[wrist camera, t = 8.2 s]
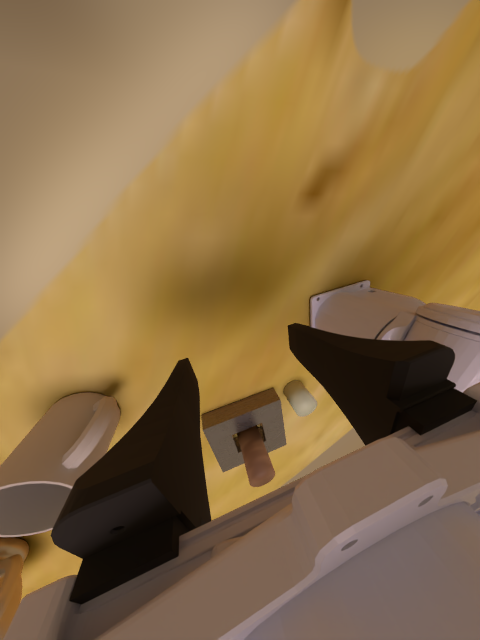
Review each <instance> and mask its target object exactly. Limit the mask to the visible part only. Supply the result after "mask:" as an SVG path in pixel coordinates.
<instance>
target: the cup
mask: <svg viewBox="0 0 480 640" xmlns="http://www.w3.org/2000/svg"><path fill="white" fill-rule="evenodd" d="M119 419H120V410H119V407H118V405H117V401H116V400H115V398H114V397H107V396H105V395H102V394H99V393H92V392H85V393H77V394H72V395H70V396H67V397H65V398H62V399H60V400H59V401H58V402H56V403H55V404H54V405H53V406H52V407H51V408H50V409H49V410H48V411H47V412H46V413H45V415H44V416H43V417H42V418H41V419H40V420H39V422H38V423H37V424H36V425H35V426H34V427H33V429H32V430H31V431H30V432H29V433H28V434H27V436H26V437H25V438H24V439H23V440H22V441H21V443H20V444H19V445H18V446H17V447H16V448H15V450H14V451H13V452H12V453H11V454H10V455H9V457H8V458H7V459H6V460H5V461H4V462H3V464H2V465H1V466H0V537H19V536H27V535H33V534H38V533H42V532H46V531H49V530H52V529H53V527H54V525H55V522H56V520H57V518H58V516H59V514H60V512H61V510H62V508H63V506H64V504H65V502H66V500H67V498H68V496H69V494H70V491H71V489H72V487H73V485H74V483H75V481H76V480H77V479H78V478H79V477H80V476H81V475H82V474H84V473H85V472H86V471H87V470H88V469H89V468H90V467H92V466H93V465H94V464H95V463H96V462H97V461H98V460H99V459H101V458H102V457H103V456H104V455H105V454H106V452H107V450H108V447H109V445H110V442H111V440H112V437H113V435H114V432H115V430H116V427H117V425H118V422H119Z"/></svg>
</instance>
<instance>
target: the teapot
mask: <svg viewBox="0 0 480 640" xmlns="http://www.w3.org/2000/svg"><path fill="white" fill-rule="evenodd" d="M28 552H29V546H28V544H27V542H25V541H24V540H22V539H19V538H14V537H0V640H3V638H4V636H5V634H6V632H7V630H8V628H9V626H10V624H11V622H12V619H13V617H14V615H15V613H16V611H17V609H18V607H19V605H20V601H21V595H22V578H21V573H22V569H23V562H24V561H25V559H26V557H27V555H28Z"/></svg>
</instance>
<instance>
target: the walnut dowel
mask: <svg viewBox="0 0 480 640" xmlns="http://www.w3.org/2000/svg"><path fill="white" fill-rule="evenodd" d="M237 435H238V439H239V443H240V447H241V451H242V455H243V459H244V463H245V467H246V471H247V475H248V478H249V482H250V485H251V486H253V487H259V486H262V485H265V484H267V483H268V482H270V481H271V480H272V479H273V478H274V476H275V471H274V468H273V466H272V463H271V461H270V458H269V455H268V453H267V450H266V447H265V445H264V442H263V439H262V437H261V434H260V432H259V429H258V426H257V425H255V426H253V427H250V428H248V429H246V430H243V431H241V432H238V433H237Z"/></svg>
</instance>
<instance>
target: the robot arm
mask: <svg viewBox="0 0 480 640" xmlns="http://www.w3.org/2000/svg"><path fill="white" fill-rule="evenodd" d="M360 285H361V286H360ZM317 298H318V299H317ZM310 320H311V327H309V326H306V325H302V324H298V323H294V324H291V325H288V334H289V346H290V350H291V351H292V353H293V354H294V356H295V357H296V358H297V360H298V361H299V362H300V363H301V364H302V365H303V366H304V367H305V368H306V369H307V370H308V371H309V372H310V373H311V374H312V375H313V376H314V377H315V378H316V379H317V380H318V381H319V383H320V384H321V385H322V386H323V387H324V388H325V390H326V391H327V392H328V393H329V395H330V396H331V397H332V399H333V400H334V401H335V402H336V404H337V405H338V407H339V408H340V409H341V411H342V412H343V413H344V415H345V416H346V418H347V419H348V420H349V422H350V423H351V425H352V426H353V428H354V429H355V430H356V432H357V433H358V435H359V436H360V438H361V439H362V441H363V442H364V444H365V446H364V447H362V448H360V449H358V450H356V451H353V452H351V453H349V454H347V455H345V456H343V457H341V458H339V459H337V460H335V461H333V462H331V463H329V464H327V465H324V466H322V467H320V468H318V469H317V470H315V471H313V472H312V473H310V474H308V475H306V476H304V477H302V478H300V479H298V480H295V481H293V482H291V483H289V484H287V485H285V486H283V487H281V488H279V489H277V490H275V491H273V492H270V493H268V494H266V495H264V496H262V497H260V498H258V499H256V500H254V501H252V502H250V503H248V504H246V505H243V506H241V507H239V508H237V509H235V510H233V511H231V512H229V513H227V514H225V515H223V516H221V517H219V518H216V519H214V520H212V521H211V515H210V508H209V502H208V495H207V487H206V480H205V473H204V464H203V456H202V447H201V438H200V396H199V387H198V381H197V378H196V376H195V373H194V371H193V369H192V366H191V364H190V361H189V359H188V358H186V359H183V360H179V361H178V363H177V364H176V366H175V368H174V370H173V372H172V373H171V375H170V377H169V379H168V380H167V382H166V384H165V385H164V387H163V389H162V390H161V392H160V393H159V395H158V396H157V398H156V399H155V400H154V402H153V403H152V404H151V406H150V407H149V408H148V409H147V411H146V412H145V413H144V414H143V416H142V417H141V418H140V419H139V420H138V421H137V422H136V424H135V425H134V426H133V427H132V428H131V429H130V430H129V431H128V432H127V433H126V434H125V435H124V436H123V437H122V439H121V440H120V441H119V442H118V443H116V444H115V445H114V446H113V447H112V448H111V449H110V450H109V451H108V452H107V453H106V454H105V455H104V456H103V457H102V458H101V459H99V460H98V461H97V462H96V463H95V464H94V465H93V466H92V467H90V468H89V469H88V470H87V471H86V472H85V473H84V474H82V475H81V476H80V477H79V478H78V479H77V480H76V481H75V483H74V485H73V487H72V489H71V491H70V494H69V496H68V498H67V500H66V502H65V504H64V506H63V508H62V510H61V512H60V514H59V516H58V518H57V520H56V522H55V525H54V527H53V529H52V533H51V537H52V540H53V542H54V544H55V545H57V546H58V547H59V548H61V549H63V550H65V551H68V552H70V553H72V554H74V555H76V556H78V557H80V558H82V559H83V561H82V564H81V566H80V569H79V572H78V575H71V576H67V577H64V578H61V579H59V580H57V581H55V582H53V583H51V584H49V585H46V586H44V587H42V588H40V589H38V590H36V591H34V592H32V593H29V594H27V595H26V596H25V597H24V598H23V599H22V600H21V603H20V605H19V607H18V609H17V611H16V613H15V615H14V617H13V619H12V622H11V624H10V626H9V628H8V630H7V632H6V634H5V636H4V638H3V640H480V311H476V310H471V309H466V308H461V307H456V306H450V305H445V304H438V303H429V304H425V303H424V302H422V301H420V300H418V299H416V298H413V297H410V296H405V295H401V294H397V293H392V292H388V291H383V290H379V289H375V288H370V281H368V280H365V281H362V282H358V283H355V284H352V285H349V286H345V287H342V288H339V289H335V290H332V291H329V292H325V293H322V294H319V295H315V296H313V297H311V299H310Z"/></svg>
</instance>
